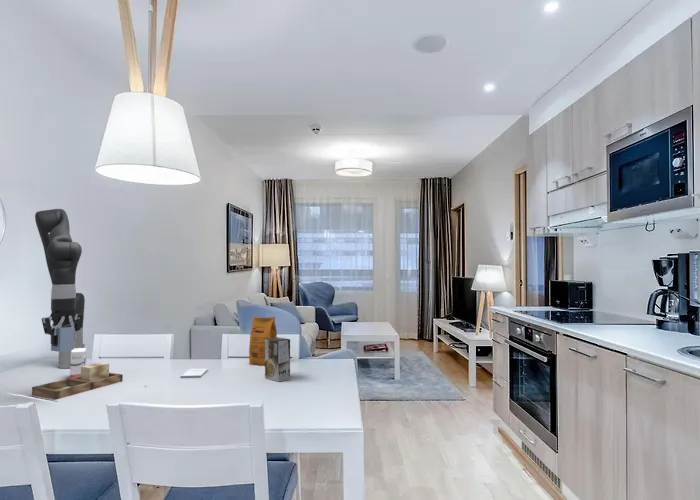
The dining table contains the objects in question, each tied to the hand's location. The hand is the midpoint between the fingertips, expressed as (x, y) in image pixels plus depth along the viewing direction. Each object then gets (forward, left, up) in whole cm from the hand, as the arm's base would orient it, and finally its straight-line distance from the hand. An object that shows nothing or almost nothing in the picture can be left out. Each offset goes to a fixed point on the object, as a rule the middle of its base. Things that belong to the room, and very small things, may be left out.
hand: (62, 344), depth 160 cm
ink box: (-17, -16, -18) cm, 29 cm away
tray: (-7, 0, -18) cm, 19 cm away
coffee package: (-71, +36, -18) cm, 82 cm away
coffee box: (-50, +58, -18) cm, 79 cm away
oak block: (-13, 0, -17) cm, 21 cm away
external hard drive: (-42, +22, -18) cm, 51 cm away
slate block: (0, 0, -2) cm, 2 cm away
